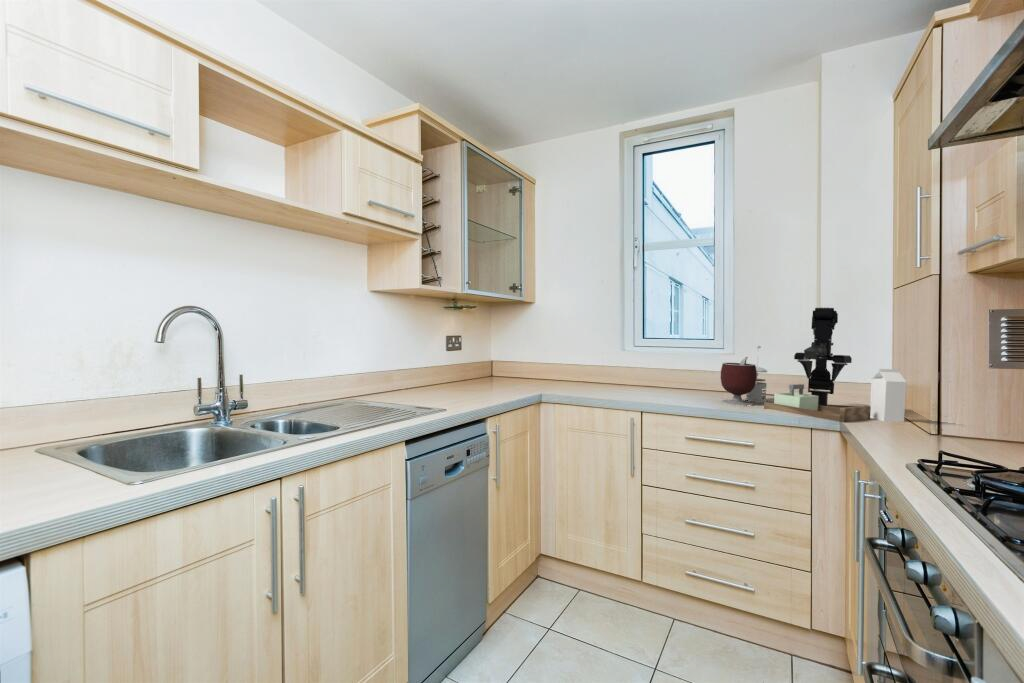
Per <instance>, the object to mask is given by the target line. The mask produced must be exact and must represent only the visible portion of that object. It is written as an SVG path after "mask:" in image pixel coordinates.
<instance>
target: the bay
mask: <svg viewBox="0 0 1024 683" xmlns="http://www.w3.org/2000/svg"><path fill="white" fill-rule="evenodd" d="M763 409H764V410H772V411H773V410H774V411H779V412H784V413H790V414H795V415H799V416H807V417H812V418H817V419H822V420H823V419H824V420H829V421H834V422H839V423H851V422H857V421H858V422H859V421H866V420H867V421H868V420H871V418H870V411H871V406H870V405H858V406H847V407H834V406H830V405H829V406H828V405H827V406H822V405H818V411H816V410H810V409H804V408H798V407H792V406H786V405H780V404H774V402H769V401H768V402H764V403H763Z"/></svg>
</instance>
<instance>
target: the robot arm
mask: <svg viewBox="0 0 1024 683" xmlns="http://www.w3.org/2000/svg"><path fill="white" fill-rule="evenodd" d="M838 315H839V313H838V312H837V310H835V308H834V307H815V308H814V310H812V315H811V330H812V333H813V334H812V335H813V341H812V342H811V346H810V347H807V348H805V349H804V350H803V352H796V353H795V354H794V355H793V359H794V360H797V363H800V364H801V365H802V368H803V370H804V371H805V372H804V373H805V375H806V379H808V382H807V384H808V386H807V393H811V394H810V395H815V396H818V405H822V406H828V398H829V397H828V395H834V392H835V391H834V390H835V381H836V379H837V377H838V376H839V374H841V371H842V370H843V369H844V368H845V366H848V364H852V363H853V362H852V361H853V358H852V357H851V356H850V355H845V354H833V352H832V346H834V342H833V341H832V337H833V333H834V332H833V330H835V327H836V325H837V324H838V323H839V322H838V318H839V316H838ZM813 360H815V368H814V369H812V368H813ZM828 361H829V362H830V361H831V363H830V364H831V367H832V370H831V372H830V370H829V369H827V362H828Z"/></svg>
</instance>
